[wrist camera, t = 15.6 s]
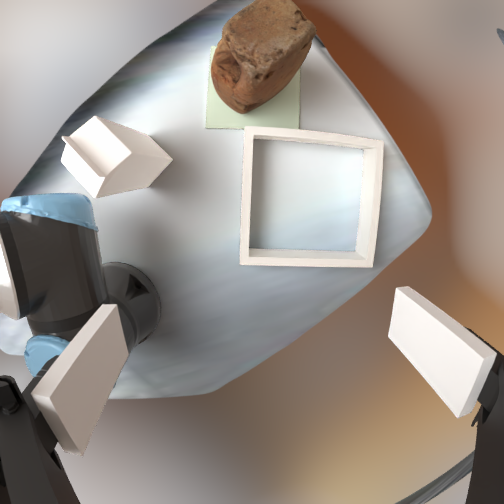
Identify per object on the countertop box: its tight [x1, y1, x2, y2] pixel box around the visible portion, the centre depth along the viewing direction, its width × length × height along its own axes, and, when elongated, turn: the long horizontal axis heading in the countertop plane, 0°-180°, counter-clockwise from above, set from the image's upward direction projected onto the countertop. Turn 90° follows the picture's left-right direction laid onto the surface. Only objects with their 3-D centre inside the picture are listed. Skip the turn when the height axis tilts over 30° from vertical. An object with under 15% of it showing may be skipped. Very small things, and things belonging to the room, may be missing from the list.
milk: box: [61, 116, 173, 198], centre depth 33 cm, size 6×6×22 cm
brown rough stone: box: [211, 0, 317, 114], centre depth 31 cm, size 11×8×20 cm
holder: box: [240, 126, 384, 267], centre depth 44 cm, size 20×19×5 cm
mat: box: [206, 46, 300, 129], centre depth 41 cm, size 14×14×1 cm
